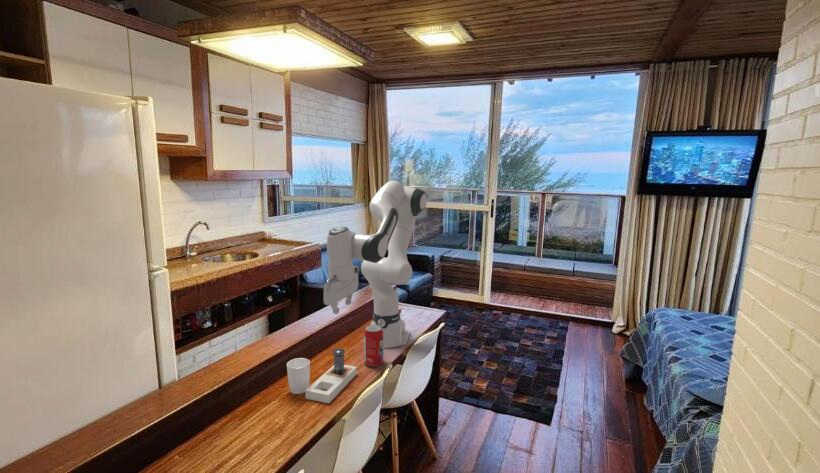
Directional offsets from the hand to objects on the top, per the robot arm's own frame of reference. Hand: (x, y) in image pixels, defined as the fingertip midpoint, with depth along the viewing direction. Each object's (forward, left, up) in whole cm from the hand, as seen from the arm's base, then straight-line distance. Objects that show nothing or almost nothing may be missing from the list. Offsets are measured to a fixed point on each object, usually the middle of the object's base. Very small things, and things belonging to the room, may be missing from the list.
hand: (342, 308), depth 150 cm
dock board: (+7, -1, -27) cm, 28 cm away
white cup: (+13, -11, -27) cm, 32 cm away
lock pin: (+2, -1, -27) cm, 27 cm away
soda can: (-14, +6, -27) cm, 31 cm away
